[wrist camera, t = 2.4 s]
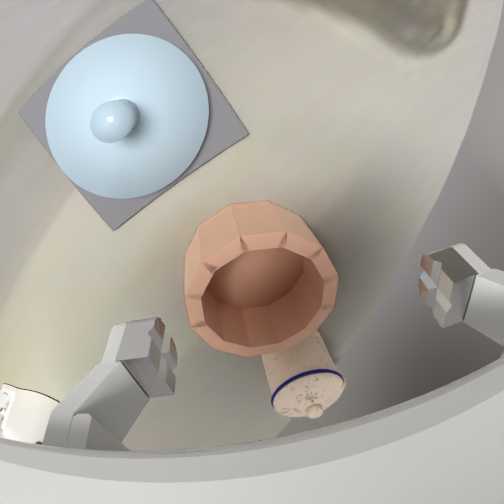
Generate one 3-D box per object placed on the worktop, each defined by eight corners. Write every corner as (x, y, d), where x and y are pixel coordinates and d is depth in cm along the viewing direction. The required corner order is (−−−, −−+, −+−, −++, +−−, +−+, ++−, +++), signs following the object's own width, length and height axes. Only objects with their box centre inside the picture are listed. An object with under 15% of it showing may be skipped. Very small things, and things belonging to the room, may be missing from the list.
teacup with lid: (246, 361, 43) (262, 432, 33) (279, 314, 39) (306, 388, 29) (314, 373, 47) (339, 434, 37) (349, 332, 44) (383, 395, 34)
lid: (113, 224, 29) (101, 249, 25) (23, 112, 22) (-4, 119, 18) (240, 132, 27) (250, 141, 23) (148, 4, 20) (139, -12, 16)
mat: (114, 228, 30) (113, 230, 30) (20, 111, 22) (17, 111, 22) (247, 133, 28) (248, 134, 27) (151, -2, 20) (150, -3, 20)
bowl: (233, 330, 39) (242, 373, 33) (159, 252, 32) (153, 292, 26) (332, 271, 37) (356, 308, 32) (274, 175, 30) (295, 200, 25)
